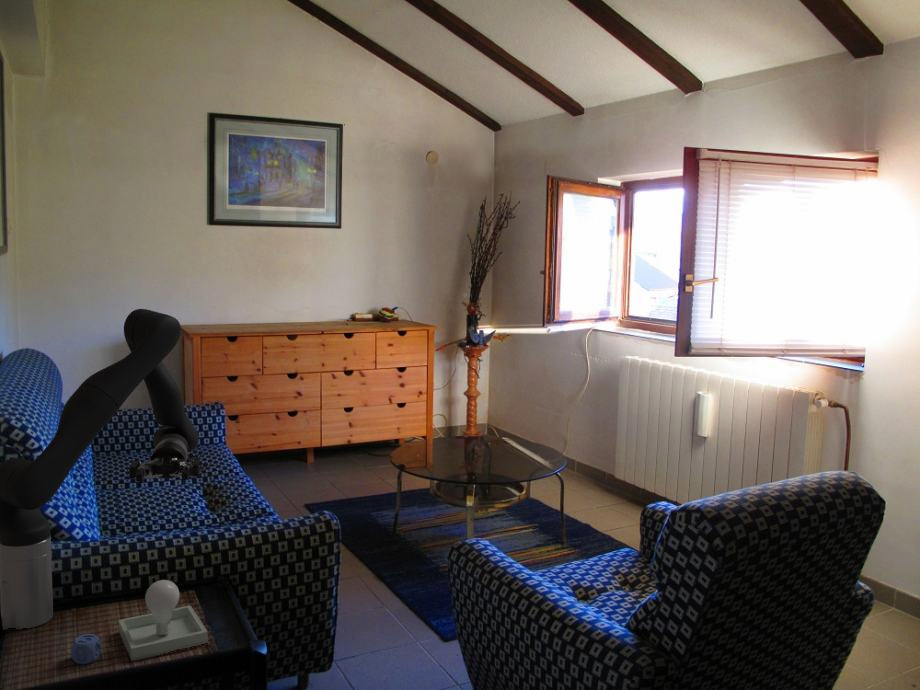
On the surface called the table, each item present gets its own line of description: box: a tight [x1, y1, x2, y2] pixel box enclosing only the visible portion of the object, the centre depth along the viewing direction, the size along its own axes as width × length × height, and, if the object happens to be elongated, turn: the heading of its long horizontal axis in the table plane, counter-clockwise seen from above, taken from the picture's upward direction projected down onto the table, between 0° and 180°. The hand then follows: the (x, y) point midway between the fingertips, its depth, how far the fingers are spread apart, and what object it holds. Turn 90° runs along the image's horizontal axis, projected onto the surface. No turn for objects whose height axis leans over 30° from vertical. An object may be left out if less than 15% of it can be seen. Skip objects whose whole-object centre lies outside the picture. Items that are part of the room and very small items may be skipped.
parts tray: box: [118, 605, 209, 662], centre depth 162 cm, size 14×13×2 cm
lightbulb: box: [144, 579, 180, 635], centre depth 162 cm, size 6×6×11 cm
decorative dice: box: [70, 633, 102, 665], centre depth 154 cm, size 4×4×4 cm
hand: (161, 478), depth 173 cm, fingers open, 8 cm apart
